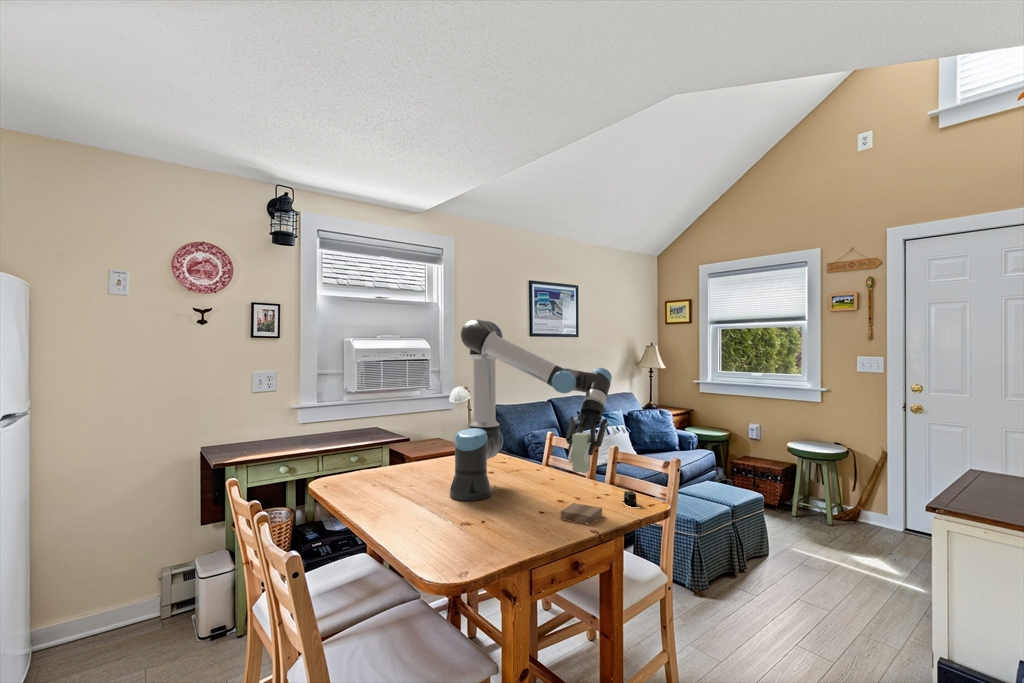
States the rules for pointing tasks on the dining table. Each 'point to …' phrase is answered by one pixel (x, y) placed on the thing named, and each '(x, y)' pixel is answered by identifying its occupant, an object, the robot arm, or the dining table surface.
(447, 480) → the dining table surface
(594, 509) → the slab
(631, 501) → the black boxy device
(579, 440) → the pillar
